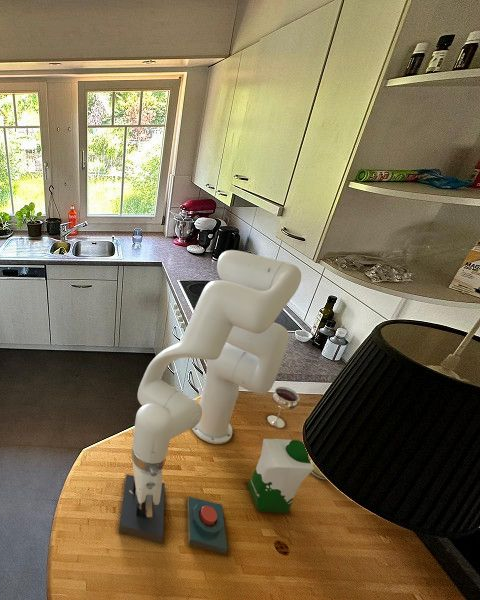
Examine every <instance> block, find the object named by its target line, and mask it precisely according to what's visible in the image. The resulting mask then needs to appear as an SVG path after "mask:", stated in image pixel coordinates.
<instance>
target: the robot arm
mask: <svg viewBox="0 0 480 600" xmlns="http://www.w3.org/2000/svg"><path fill="white" fill-rule="evenodd" d="M216 271H217V275H218V277H219V278H220V279H216V280H215V279H214V280H211V281H209V282H208V283H207V284H205V286H204V288H203V289H202V291H201V294H200V296H199V298H198V300H197V302H196V305H195V308H194V309H193V311H192V314H191V317H190V318H189V321H188V323H187V326H186V328H185V330H184V333H183V335H182V337H181V339H180V340H179V341H178V342H177V343H174V344H173V345H170V346H168V347H166V348H165V349H163V350H162V351H160V352H159V353H158V354H156V356H155V357H154V358H153V359H152V360H151V361H150V363H149V364H148V366H147V367H146V369H145V372H144V374H143V377H142V379H141V381H140V383H139V386H138V390H137V401H138V402H139V404H140V405H141V406H140V407H139V409H138V410H137V412H136V415H135V421H134V428H133V436H132V437H133V438H132V445H131V453H130V458H131V462H132V471H133V472H132V473H133V476H134V480H135V481H134V484H133V493H135V492H137V498H138V502H139V504H137V510H136V516H141V517H152V501H153V503H154V505H158V504H159V503H160V497H161V489H162V483H163V469H165V466H166V461H167V457H168V453H169V448H170V443H171V440H173V439H174V438H176V437H178V436H180V435H182V434H184V433H186V432H188V431H190V430H192V432H193V433H194V434H195V435H196V436H197V437H198V438H199V439H201V440H203V441H204V442H207V443H210V444H213V445H222V444H226V443H228V442H229V441H230V440H231V439H232V437H233V436H232V435H233V427H232V424H231V419H232V416H233V413H234V410H235V407H236V403H237V401H238V398H239V394H240V387H241V388H243V389H245V390H247V391H249V392H252V393H253V394H256V395H261V396H262V395H265V394H267V393H269V391H271V389H272V388H273V386H274V384H275V382H276V380H277V376H278V374H279V371H280V368H281V365H282V363H283V360H284V357H285V355H286V351H287V349H288V346H289V342H290V334H289V331H288V329H287V328H286V327H285V326H283V325H282V324H279V323H277V322H275V321H276V320H277V319H278V317H279V316H280V315H281V313H282V311H283V310H284V309H285V308H286V306H287V305H288V303H289V302H290V301H291V299H292V298H293V297H294V295H296V293H297V291H298V289H299V287H300V284H301V281H302V272H301V270H300V268H299V267H298V266H296V265H294V264H293V263H290V262H286V261H282V260H277V259H273V258H270V257H267V256H262V255H258V254H254V253H251V252H247V251H242V250H236V249H235V250H234V249H230V250H229V249H228V250H225V251H223V252H221V254H220V255H219V257H218V259H217V263H216ZM185 358H188V359H199V360H205V361H206V372H205V379H204V382H203V383H204V384H203V388H202V391H201V395H200V399H199V402H198V401H196V400H195V399H193V398H192V397H191V396H189V395H187V394H185V393H183V392H182V391H180V390H179V389H177V388H175V387H174V386H172V385H170V384H169V383H167V382H165V381H164V380H163V379H162V377H163V375H164V373H165V371H166V369H167V368H168V366H169V365H170V364H172V363H173V362H175V361H177V360H179V359H185ZM144 501H146V503H143V502H144Z"/></svg>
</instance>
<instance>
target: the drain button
mask: <svg viewBox="0 0 480 600" xmlns="http://www.w3.org/2000/svg"><path fill="white" fill-rule="evenodd" d="M200 518H201V520H202V522H203V523H204V524H206V525H208V526H213V525H214V524H215V523H216V520H217V513H216V511H215V510H214V509H213V508H212V507H210V506H204V507H202V509H201V512H200Z"/></svg>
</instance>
